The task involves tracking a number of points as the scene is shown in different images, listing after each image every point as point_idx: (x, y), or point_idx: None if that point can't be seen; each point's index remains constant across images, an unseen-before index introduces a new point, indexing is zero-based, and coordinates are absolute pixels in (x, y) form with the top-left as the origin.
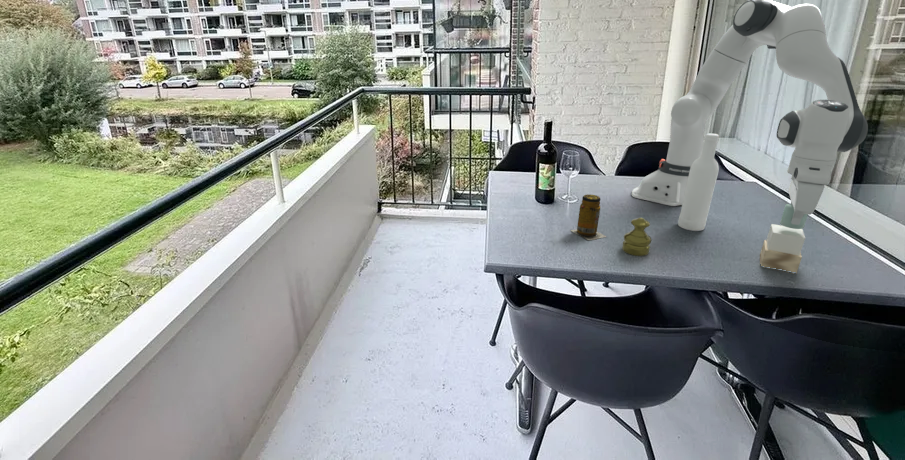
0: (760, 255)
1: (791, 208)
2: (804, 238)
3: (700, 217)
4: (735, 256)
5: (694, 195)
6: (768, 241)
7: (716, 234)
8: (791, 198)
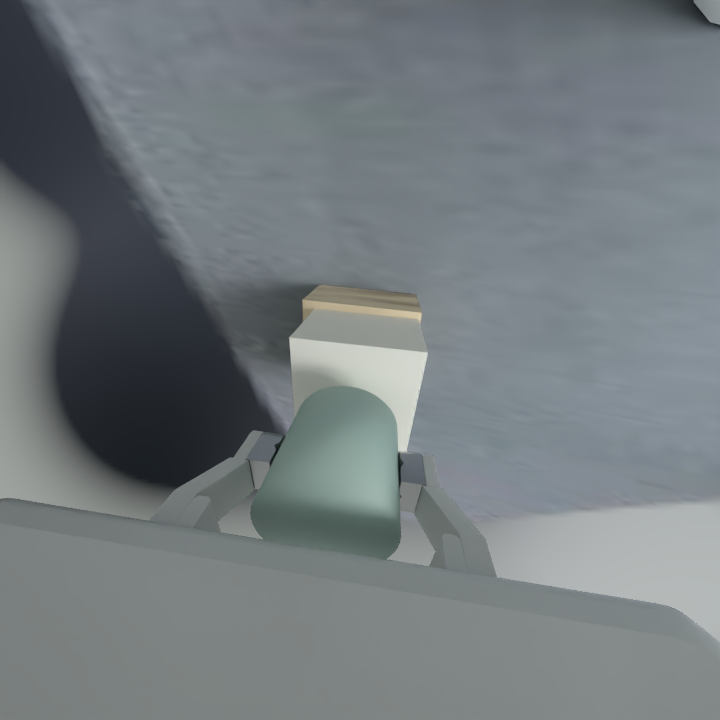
0: (393, 294)
1: (265, 495)
2: None
3: None
4: (368, 206)
5: None
6: (349, 319)
7: (629, 121)
8: (298, 579)
